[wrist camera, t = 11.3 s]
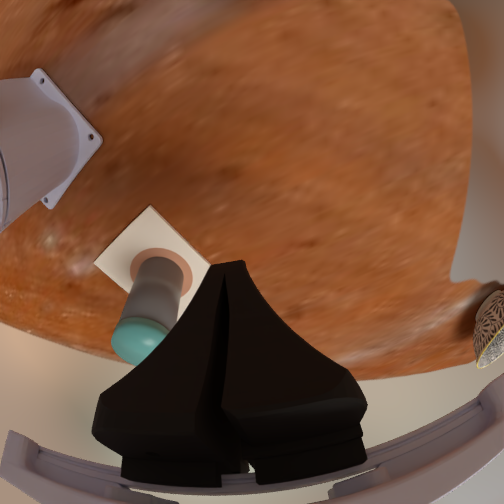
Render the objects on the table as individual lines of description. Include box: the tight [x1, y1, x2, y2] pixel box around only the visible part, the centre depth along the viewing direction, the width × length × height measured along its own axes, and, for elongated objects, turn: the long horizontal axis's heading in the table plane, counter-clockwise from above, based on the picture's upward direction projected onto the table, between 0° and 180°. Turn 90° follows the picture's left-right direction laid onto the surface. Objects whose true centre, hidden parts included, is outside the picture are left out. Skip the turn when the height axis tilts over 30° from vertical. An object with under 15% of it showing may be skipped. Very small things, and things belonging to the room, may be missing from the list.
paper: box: [94, 205, 211, 321], centre depth 23 cm, size 10×8×1 cm
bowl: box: [473, 290, 504, 369], centre depth 29 cm, size 16×16×8 cm
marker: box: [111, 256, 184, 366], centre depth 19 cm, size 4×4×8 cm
